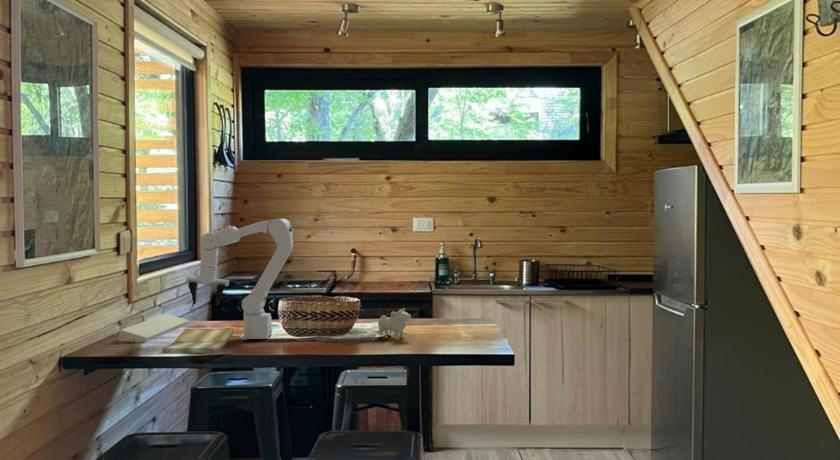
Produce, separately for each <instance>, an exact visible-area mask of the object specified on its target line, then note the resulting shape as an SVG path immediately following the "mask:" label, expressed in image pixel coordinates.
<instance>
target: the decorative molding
mask: <svg viewBox="0 0 840 460" xmlns="http://www.w3.org/2000/svg"><path fill="white" fill-rule="evenodd" d="M189 322H190V320H189V319H185V318H182V317H179V316H175V315H172V314H168V313H163V314H160V315H158V316H154V317H151V318H150V319H146V320H144V321H142V322H138V323H136V324H132V325H131V326H127V327H124V328H122V329H120V331H119V335H118V339H117V342H118V341H126V342H125V343H127V342H131V343H147V342H149V341H151V339H152V340H154V339H156V338H158V337H161V336H164V335H166V334H167V333H170V331H171V332H174V331H175V329H176V330H178V329H180V328H183V327H184V326H185V327H186V326H187V325H188V324H189Z"/></svg>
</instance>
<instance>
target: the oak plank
mask: <svg viewBox="0 0 840 460" xmlns="http://www.w3.org/2000/svg"><path fill="white" fill-rule="evenodd" d="M233 334H234V329H233V328H184V329H183V331H181V333H180V334H179V336H177V338H176V339H175V340H174V342H225V346H226V345H227V343H228V342H229V340H230V339H231V337H233Z"/></svg>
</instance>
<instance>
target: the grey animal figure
mask: <svg viewBox="0 0 840 460" xmlns="http://www.w3.org/2000/svg"><path fill="white" fill-rule="evenodd" d="M411 318H412V315H411V314H409V313H408V312H406V308H404V307H403V308H401V309H399V310H398V311H396V312H395V311H391V312H390V317H387V316H386V315H381V316H380V318H379V320H378V321H377V325H378V333H379V335H383V332H384V334H385V333H388V334H389V330H390V331H392V332H393V333H394V340H397V341H398V340H400V339H399V338H401V339H402V338H405V336H404V330H405V329H406V328H407V327H406V326H407V322H409V321H410V320H411Z"/></svg>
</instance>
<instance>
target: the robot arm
mask: <svg viewBox="0 0 840 460" xmlns="http://www.w3.org/2000/svg"><path fill="white" fill-rule="evenodd" d="M260 232H261V233H264V234H269V235H270V236H271V237H272V238H273V239H274V241H275V244H276V247H277V248H276V250H275V252H274V253H273V255H272V257H271V258H270V260H269V262H268V264H267V265H266V267H265V269H264V270H263V273H261V276H260V277H259V279H258V281H257V283H256V285H255V286H254V287H253V288H252V290H251V291H250V293H249V294H248V295H247V296H246V297H244V298H243V299H242V301H241V308H242V310H243V336H242V337H240V340H243V341H244V340H246V341H247V339H267V338H268V337H269V336H270V335H272V336H273V333H272V330H273V327H272V325H273V322H272V314H271V313H270V312H265V309H264V307H265V305H266V299H267V297H268V294H269V291H270V289H271V287H272V286H273V284H274V283H275V280H276V279H277V277H278V275H279V274H280V272H281V270H282V268H283V267H284V265H285V263H286V262H287V260H288V257H290V254H291V253H292V251H293V249H294V237H293V234H294V228H293V226H292V224H291V221H289V220H288V219H287V218H284V217H283V218H276V219H275V218H274V219H268V220H261V221H258V222H255V223H252V224H249V225H246V226H243V227H240V228H239V227H236V226H234V225H233V226H231V225H226V226H225V228H222V229H219V230H218V229H213V232H206V233H204V234H203V235H201V237H200V239H199V243H200V246H201V252H200V253H201V255H200V264H199V276H198V277H197V276H192V277H191V276H186V277H185V284H188V285H187V286H188V289H189V291H190V295H191V297H192V305H197V292H198V286H199V284H200V285H201V284H202V285H212V286H216V296H215V305H214V306H217V307H218V305H219V302H220V299H221V296H222V294H223V292H224V290H225V289H226V287H228V286H229V284H230V280H229V279H221V278H217V274H218V273H217V272H218V261H219V260H218V259H219V257H218V256H219V247H224V246H227V245H231V244H235V243H238V242H240V240H241V238H242V237H245V236H249V235H252V234H257V233H260ZM269 338H270V337H269ZM269 338H268V339H269ZM268 339H267V340H268Z"/></svg>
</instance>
